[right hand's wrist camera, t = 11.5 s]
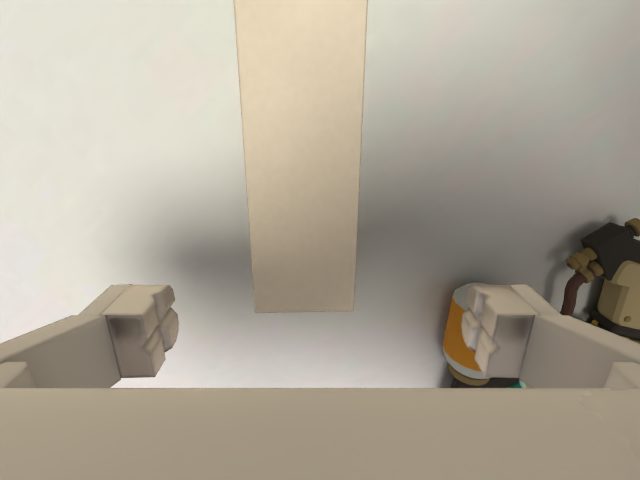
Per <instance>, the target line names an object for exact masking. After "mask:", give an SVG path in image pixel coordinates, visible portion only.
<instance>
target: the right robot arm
mask: <svg viewBox="0 0 640 480" xmlns="http://www.w3.org/2000/svg"><path fill="white" fill-rule="evenodd" d="M174 301H175V298H174V293H173V289H172V288H171V287H170V285H132V284H124V285H111V286H110V287H109V288H108V289H107V290H105V291H104V292H103V293H102V294H101V295H100V296H99V297H98V298H97V299H95V300H94V301H93V302H92V303H91V304H90V305H89V306H88V307H87V308H85V309H84V310H83V311H82V312H81V313H80V314H79V315H72V316H69V317H66V318H64V319H61V320H59V321H56V322H54V323H51V324H49V325H46V326H44V327H41V328H39V329H36V330H34V331H31V332H29V333H26V334H24V335H21V336H18V337H16V338H13V339H11V340H8V341H6V342H3V343H1V344H0V480H640V344H639V343H637V342H634V341H631V340H629V339H626V338H624V337H621V336H619V335H616V334H614V333H611V332H609V331H606V330H604V329H601V328H599V327H596V326H594V325H591V324H589V323H586V322H584V321H581V320H579V319H576V318H574V317H571V316H568V315H561V314H560V313H559V312H558V311H557V310H556V309H555V308H554V307H552V306H551V305H550V304H549V303H548V302H547V301H546V300H545V299H544V298H542V297H541V296H540V295H539V294H538V293H537V292H536V291H535V290H534V289H532V288H531V287H530V286H529V285H525V284H518V285H473V286H469V287H468V290H467V292H466V297H465V301H466V302H467V304H468V305H469V308H468V309H467V310H466V311H465V312H464V313H463V315H462V323H461V327H462V336H463V339H464V342H465V344H466V345H467V347H468V348H469V349H470V350H472V351H474V352H475V361H476V363H477V364H478V366H479V368H480V369H481V371H482V373H483V374H484V376H485V377H503V378H519V380H521V381H522V382H523V383H525V384H526V385H527V386H529V387H530V388H110V387H111V386H113V385H114V384H116V383H117V382H118V381H120V380H121V378H137V377H155V376H156V374H157V373H158V371H159V369H160V368H161V366H162V364H163V363H164V361H165V352H166V351H168V350H170V349H171V348H172V347H173V345H174V344H175V342H176V339H177V335H178V324H179V322H178V315H177V313H176V312H175V311H174V310H173V309H172V308H171V305H172V304H173V302H174Z"/></svg>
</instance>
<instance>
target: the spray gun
mask: <svg viewBox="0 0 640 480" xmlns="http://www.w3.org/2000/svg"><path fill="white" fill-rule="evenodd" d="M624 225H625V226H619V225H616V224H613V223H608V224H606V225H605V226H603V227H601V228H600V229H598V230H596V231H595V232H593V233H591V234H590V235H588V236H586V237H585V238H583V239H581V242H582V245H583V247H584V250H582V253H581V252H580V253H575V254H573V255H572V256H570V259H568V260H567V261H566V263H567V265H568V267H570V268H571V269H574V270H576V269H577V270H576V271H575V273H576V274H575V275H574V276H573V277H572V278H570V280H569V281H568V283H567V285H566V288H565V293H564V301H563V305H562V309H561V312H560V314H561V315H568V316H571V317H572V314H573V311H574V307H575V304H576V296H577V291H578V288H579V286H580V285H581V284H582V283H583V282H585V283H589V282H590V281H592V280H594V275H595V276H600V277H602V278H604V279H605V280H604V284H603V288H602V291H601V295H600V298H599V302H598V310H599V311H593V312H591V317H592V318H593V319H594V320H593V321H592V324H591V323H589V324H591V325H594V326H596V327H599V328H601V329H604V330H606V331H609V332H611V333H614V334H616V335H619V336H621V337H624V338H626V339H629V340H631V341H634V342H637V343H639V344H640V241H638V240H636V239H633V238H634V236H640V220H639V219H636V218H634V219H632V220H630V221H628V222H625V224H624ZM473 285H491V284H487V283H478V282H475V283H468V284H466V285H463V286H461V287H459V288H457V289H455V291H454V293H453V296H452V301H451V305H450V310H449V315H448V320H447V325H446V329H445V334H444V339H443V344H442V345H443V353H444V356H445V359H446V360H447V361H448V368H449V371H450V372H451V374H452V375H453V376H454V377H455V378H454V380H453V383H452V386H451V388H530V387H529V386H527V385H526V384H525V383H523V382H522V381H521V380H519V378H503V377H485V376H484V374H483V373H482V371H481V369H480V368H479V366H478V364H477V363H476V361H475V352H474V351H472V350H470V349H469V348H468V347H467V345H466V344H465V342H464V339H463V336H462V327H461V323H462V315H463V313H464V312H465V311H466V310H467V309H468V308H469V305H468V304H467V302H466V301H465V297H466V292H467V290H468V287H469V286H473Z"/></svg>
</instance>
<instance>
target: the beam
mask: <svg viewBox="0 0 640 480" xmlns="http://www.w3.org/2000/svg"><path fill="white" fill-rule="evenodd" d="M367 5H368V0H234V12H235V26H236V41H237V56H238V70H239V85H240V100H241V114H242V129H243V144H244V159H245V173H246V188H247V203H248V217H249V232H250V247H251V261H252V276H253V291H254V305H255V312H256V313H270V312H330V311H353V310H354V295H355V273H356V251H357V228H358V206H359V184H360V161H361V139H362V117H363V95H364V72H365V50H366V28H367Z"/></svg>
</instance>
